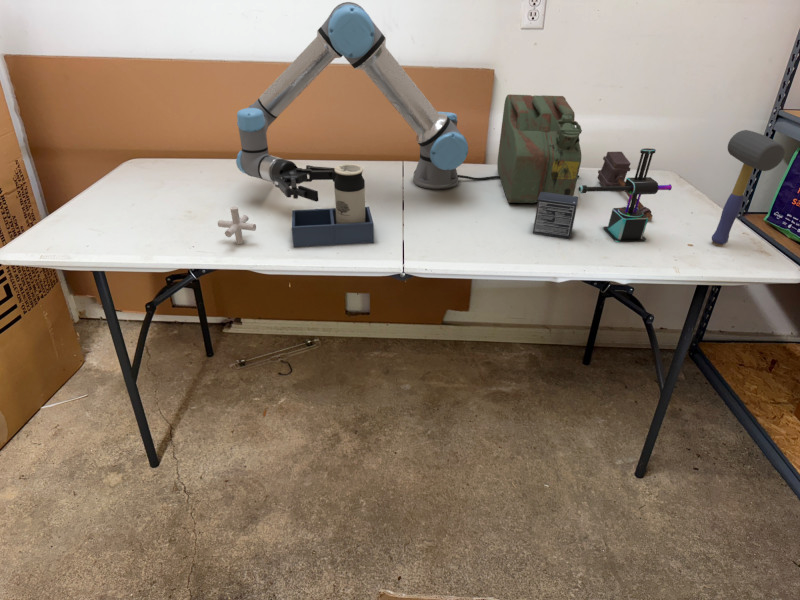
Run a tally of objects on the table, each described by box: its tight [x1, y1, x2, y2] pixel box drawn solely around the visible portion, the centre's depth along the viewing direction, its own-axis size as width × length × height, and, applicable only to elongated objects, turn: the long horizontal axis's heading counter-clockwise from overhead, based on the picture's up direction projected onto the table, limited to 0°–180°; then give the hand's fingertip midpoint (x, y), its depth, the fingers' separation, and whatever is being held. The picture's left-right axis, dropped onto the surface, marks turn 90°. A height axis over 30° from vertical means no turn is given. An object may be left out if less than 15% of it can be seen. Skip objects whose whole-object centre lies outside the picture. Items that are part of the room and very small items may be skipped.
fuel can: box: [496, 94, 583, 204], centre depth 169 cm, size 19×35×27 cm, turn 178°
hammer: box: [597, 151, 654, 221], centre depth 167 cm, size 7×33×10 cm, turn 5°
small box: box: [531, 192, 579, 240], centre depth 146 cm, size 11×6×10 cm, turn 71°
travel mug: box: [333, 163, 366, 224], centre depth 140 cm, size 8×8×18 cm
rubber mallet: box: [711, 129, 786, 247], centre depth 136 cm, size 12×8×30 cm, turn 5°
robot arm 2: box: [578, 147, 673, 243], centre depth 141 cm, size 25×9×24 cm, turn 96°
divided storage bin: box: [291, 206, 375, 248], centre depth 143 cm, size 21×11×6 cm, turn 99°
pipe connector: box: [217, 206, 257, 245], centre depth 138 cm, size 10×10×10 cm
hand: (334, 188), depth 141 cm, fingers open, 13 cm apart
